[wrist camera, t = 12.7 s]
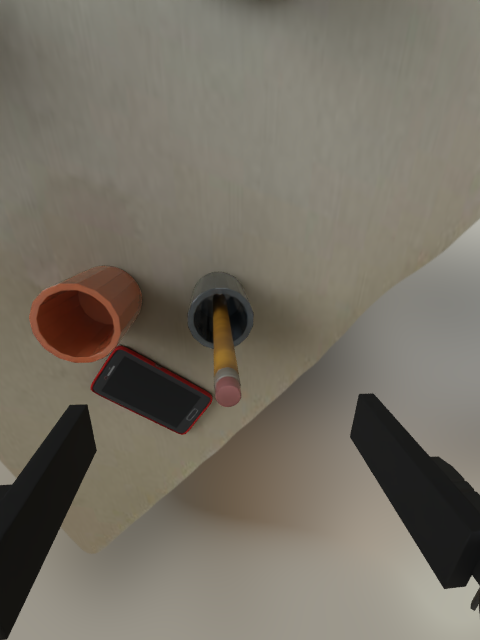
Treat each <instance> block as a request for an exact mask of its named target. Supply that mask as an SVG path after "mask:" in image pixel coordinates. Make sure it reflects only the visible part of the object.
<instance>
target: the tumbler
mask: <svg viewBox="0 0 480 640" xmlns="http://www.w3.org/2000/svg"><path fill="white" fill-rule="evenodd" d="M215 294H223V295H224V296H225V298H226V303H227V309H228V314H229V320H230V326H231V332H232V338H233V343H234V346H237V345H238V344H240V343H241V342H242V341H243V340H245V339H246V338H247V337H248V335H249V333H250V331H251V329H252V327H253V317H254V314H253V311H252V308H251V305H250V303H249V300H248V298H247V296H246V293H245V291H244V289H243V286H242V284H241V283H240V282H239V281H238V280H237V279H236V278H235V277H234V276H232V275H230V274H228V273H225V272H212V273H209V274H207V275H205V276H203V277H202V278H201V279H200V280H199V281H198V282H197V284H196V285H195V287H194V290H193V293H192V297H191V301H190V306H189V310H188V327H189V329H190V331H191V333H192V335H193V337H194V338H195V339H196V340H197V341H198V342H200V343H201V344H202V345H203V346H206V347H209V348H212V349H214V342H213V297H214V295H215Z"/></svg>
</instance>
